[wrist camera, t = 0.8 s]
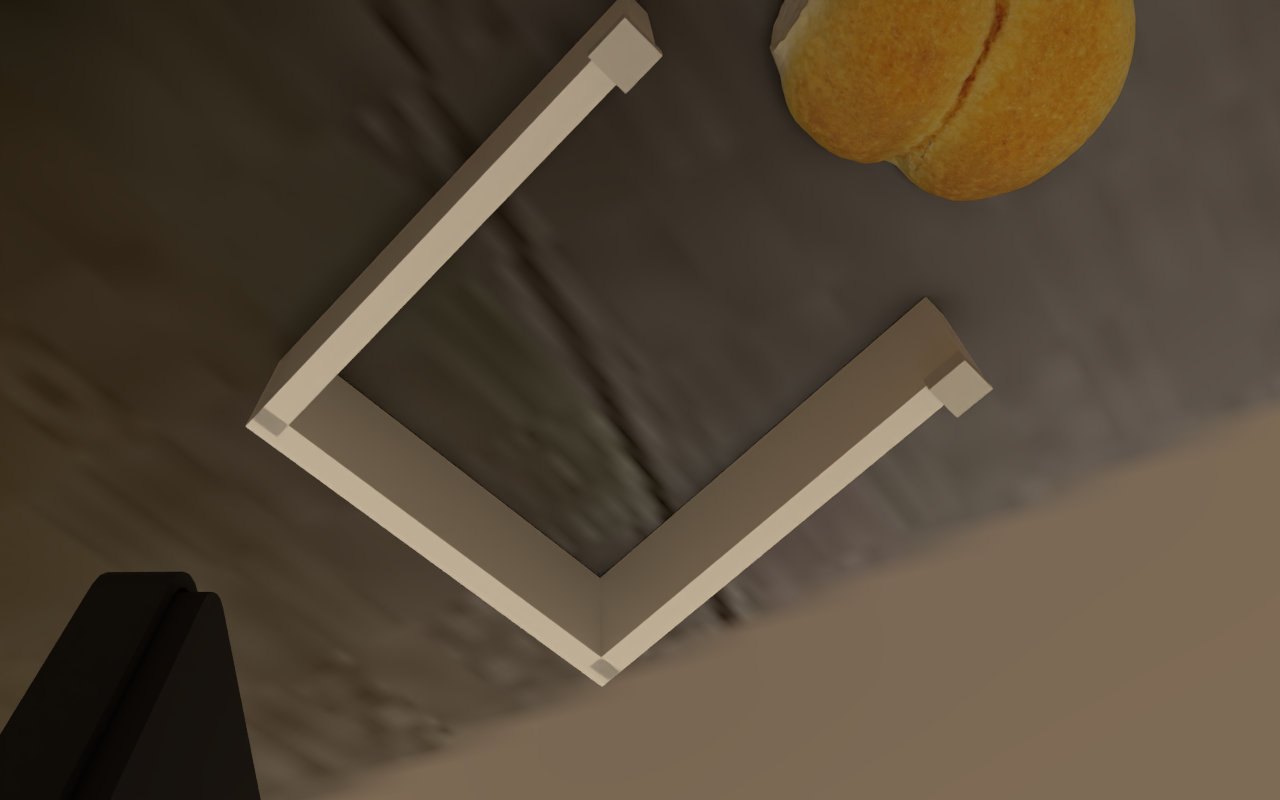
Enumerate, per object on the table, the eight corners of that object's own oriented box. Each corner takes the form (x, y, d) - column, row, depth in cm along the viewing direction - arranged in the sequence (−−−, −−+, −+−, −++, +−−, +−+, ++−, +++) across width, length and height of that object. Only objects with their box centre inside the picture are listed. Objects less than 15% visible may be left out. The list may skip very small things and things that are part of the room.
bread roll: (1014, 217, 35) (1063, 269, 31) (731, 101, 33) (748, 142, 29) (1177, -66, 31) (1253, -45, 28) (871, -215, 29) (910, -212, 26)
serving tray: (620, -16, 31) (624, 17, 27) (946, 318, 36) (992, 388, 32) (274, 356, 35) (233, 432, 31) (605, 609, 40) (606, 703, 36)
